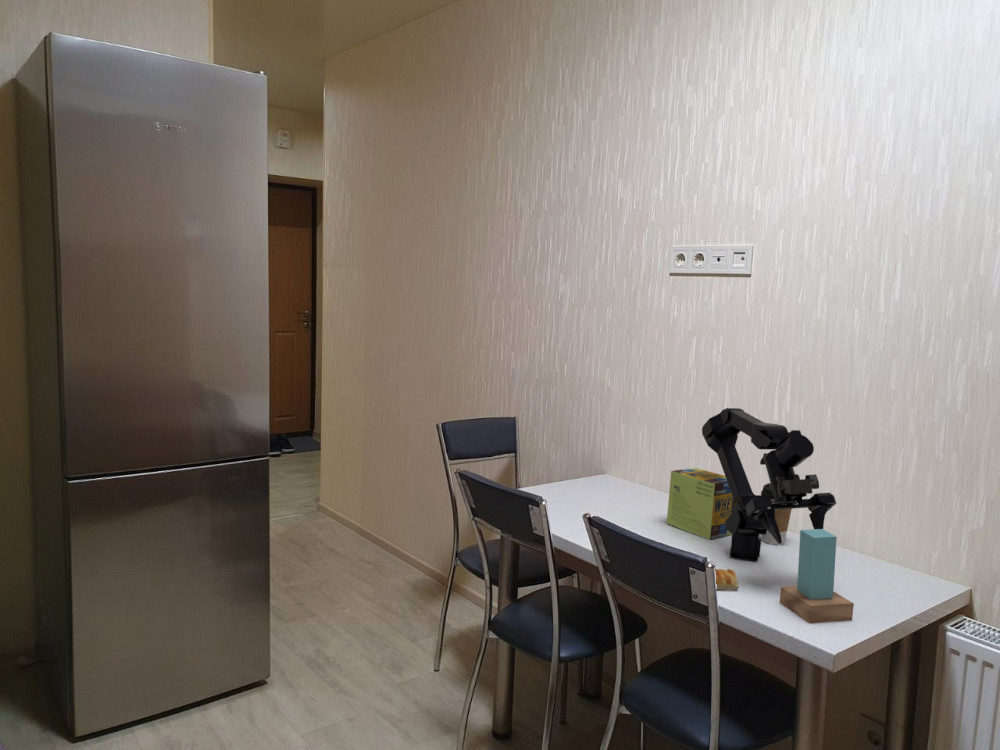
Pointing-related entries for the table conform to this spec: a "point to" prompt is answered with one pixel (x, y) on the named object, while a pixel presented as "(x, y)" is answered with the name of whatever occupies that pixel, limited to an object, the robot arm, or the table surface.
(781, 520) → the coffee cup
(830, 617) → the walnut block
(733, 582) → the pastry
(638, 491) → the table surface
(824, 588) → the teal pillar
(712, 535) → the protein box
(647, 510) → the table surface
